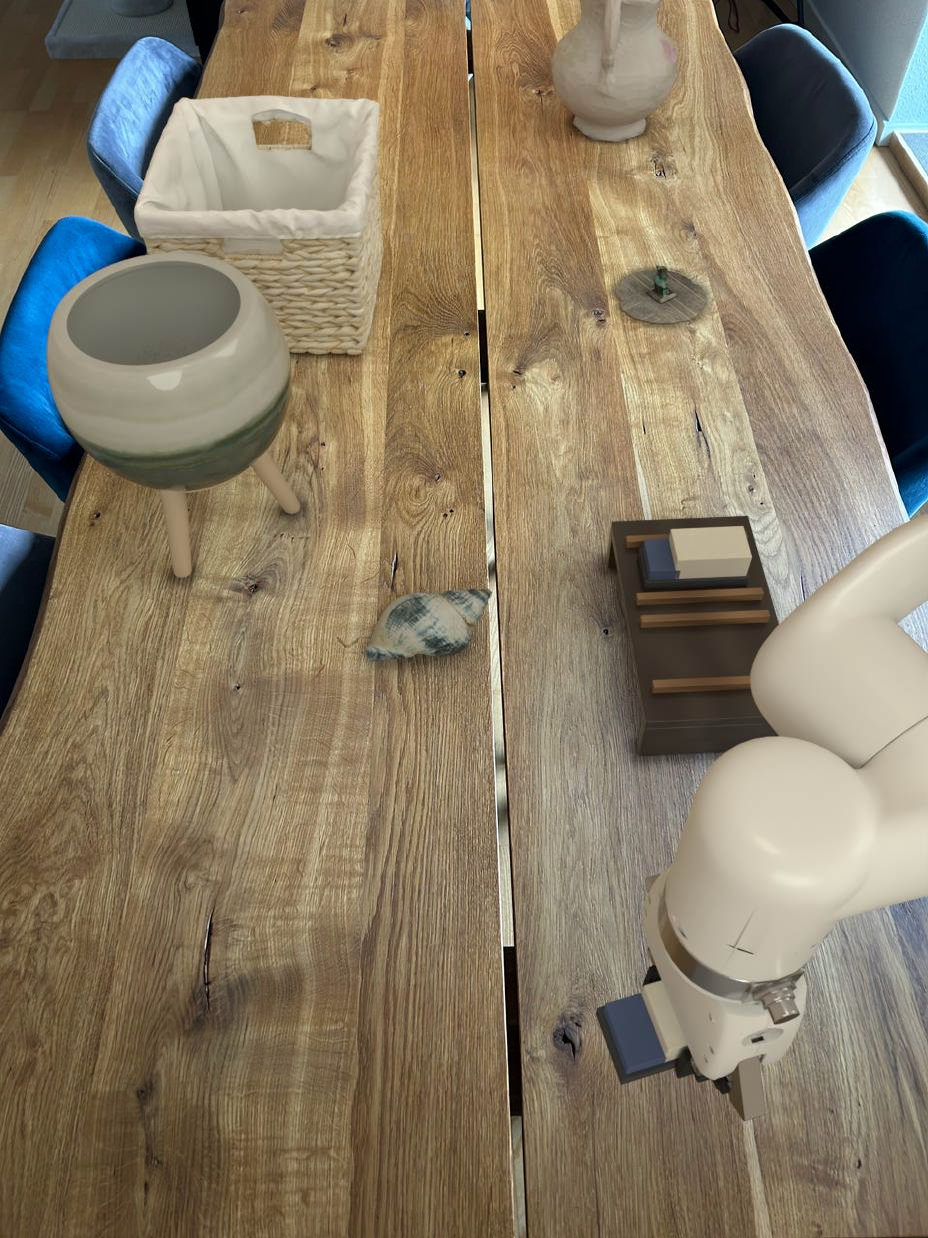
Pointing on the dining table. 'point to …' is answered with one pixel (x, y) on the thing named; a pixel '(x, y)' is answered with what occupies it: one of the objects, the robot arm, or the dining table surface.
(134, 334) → the planter
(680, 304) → the sculpture
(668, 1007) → the blue cream block
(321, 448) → the dining table surface
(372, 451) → the dining table surface
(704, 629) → the shoe rack
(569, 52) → the ceramic pitcher
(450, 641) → the seashell
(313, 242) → the basket
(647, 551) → the two-tone stepped block
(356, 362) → the dining table surface
